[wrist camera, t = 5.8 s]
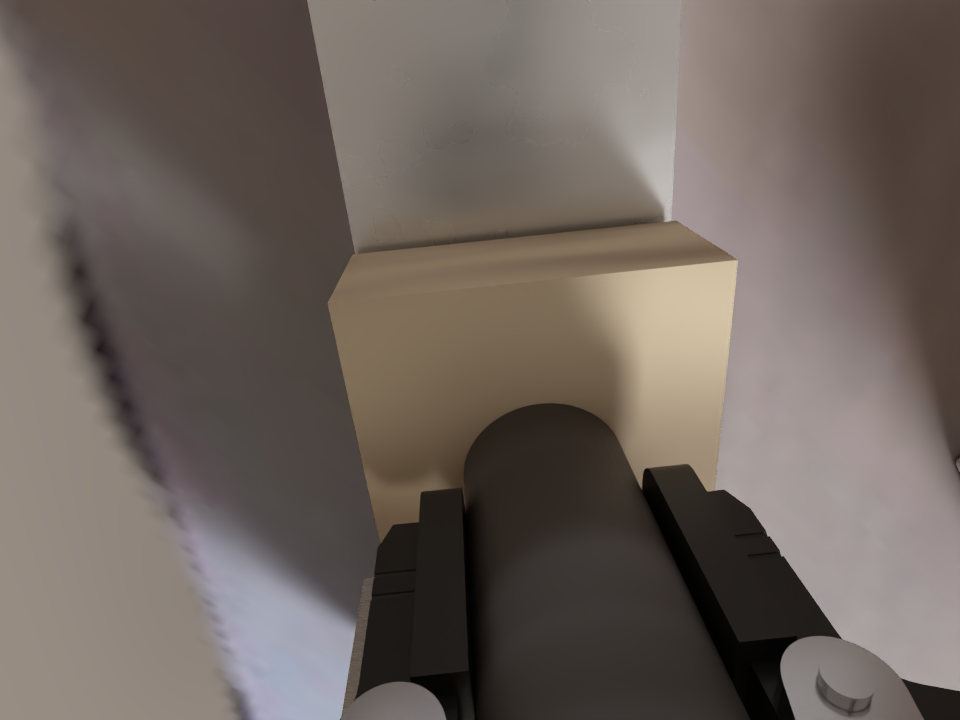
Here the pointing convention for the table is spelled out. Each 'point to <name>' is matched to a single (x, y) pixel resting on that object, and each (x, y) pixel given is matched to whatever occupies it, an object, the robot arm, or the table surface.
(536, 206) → the track
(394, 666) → the robot arm
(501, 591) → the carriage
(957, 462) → the coffee box
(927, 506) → the table surface
